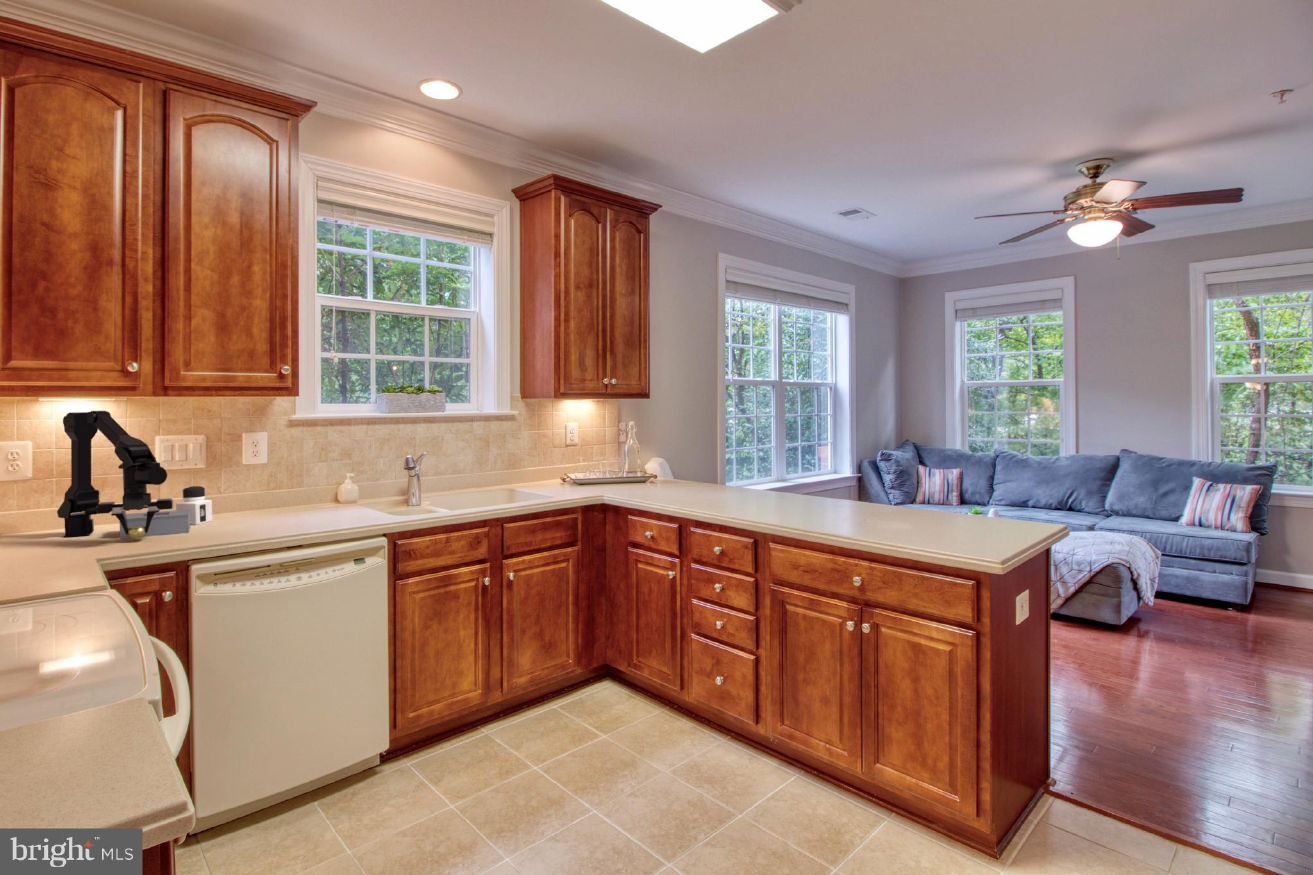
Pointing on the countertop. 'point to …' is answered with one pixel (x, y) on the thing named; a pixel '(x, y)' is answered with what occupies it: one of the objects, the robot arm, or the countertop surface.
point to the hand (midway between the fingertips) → (136, 533)
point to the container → (196, 505)
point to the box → (160, 522)
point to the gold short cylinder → (136, 532)
